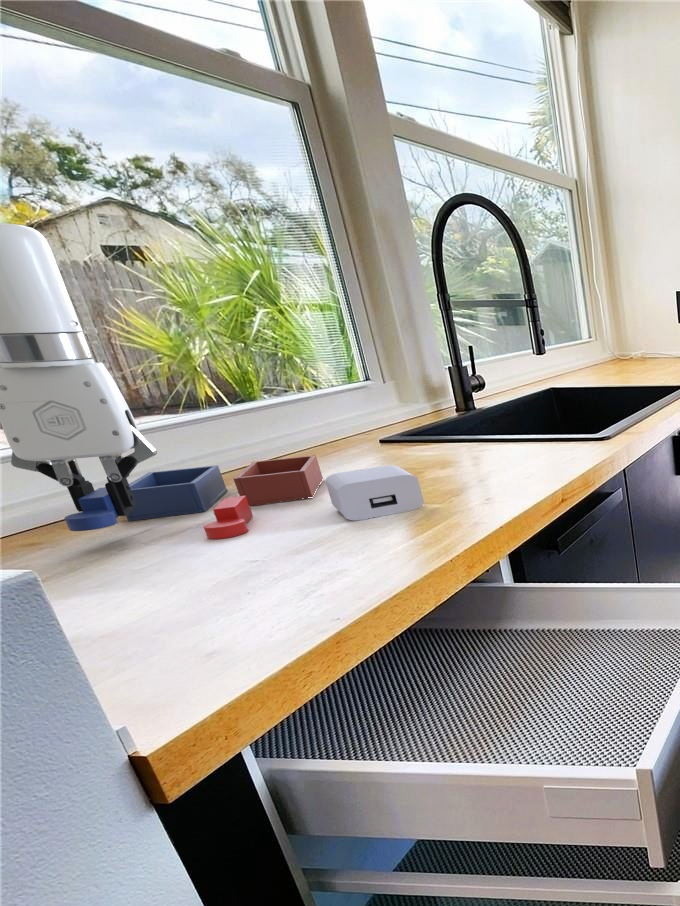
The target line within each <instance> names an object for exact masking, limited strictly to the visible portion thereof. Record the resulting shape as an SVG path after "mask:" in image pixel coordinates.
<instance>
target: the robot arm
mask: <svg viewBox="0 0 680 906" xmlns="http://www.w3.org/2000/svg"><path fill="white" fill-rule="evenodd" d="M83 331H84V330H83V328H82V325H81V323H80V320H79V318H78V315H77V313H76V310H75V308H74V304H73V303H72V300H71V297H70V295H69V293H68V290H67V286H66V285H65V282H64V279H63V277H62V274H61V272H60V269H59V266H58V264H57V262H56V259H55V256H54V254H53V251H52V249H51V247H50V245H49V242H48V240H47V239H46V238H45V237H44V235H43V234H42V233H40V231H38V230H37V229H35V228H33V227H29V226H27V225H23V224H16V223H7V222H0V424H1V428H2V430H3V432H4V436H5V438H6V441H7V443H8V445H9V447H10V449H11V458H10V464H11V466H13V467H14V468H17V469H20V470H21V469H22V470H26V471H31V472H38V473H40V474H42V475H44V476H46V477H48V478H51V479H52V480H54V481H56V482H58V483H59V484H60V486H63V487H66V488H67V490H68V493H69V495H70V497H71V500H72V502H73V504H74V507H75V509H76V510H77V511H78V513H80V512H83V510H82V508H81V505H80V503H79V501H78V499H80V498H82V497H84V496H86V495H88V494H90V493H91V492H93V491H95V490H96V489H95V488H94V485H93V483H92V482H91V481H89V480H86V478H85V476H83V475H82V471H81V469H80V466H79V464H78V462H77V459H89V458H98V459H99V461H100V463H101V465H102V467H103V470H104V473H105V474H106V480H107V482H106V483H105V484H104V487H106V490H107V492H108V494H109V496H110V498H111V500H112V503H113V505H114V508H115V510H116V513H117V515H119V517H126V515H128V514H129V513H131V512H132V511H133V510H134V509H133V506H135V505H136V501H135V498H134V496H133V493H132V491H131V488H130V486H129V484H130V483H129V481H128V477H130V474H131V473H132V472H133V471H134V469H135V468H136V466H137V465H138V464H140V463H143V462H144V461H147V460H148V459H149V460H150V459H151V458H153V457H154V456H156V455H157V454H158V451H157V449H156V448H155V447H154V446H153V445H152V443H150V442H149V441H148V439H146V438H145V437H144V436H143V434H141V433H140V432H141V431H140V429H139V426H138V424H137V422H136V420H135V418H134V416H133V413H132V411H131V409H130V406H129V405H128V403H127V401H126V400H125V399H126V398H124V395H123V394H122V392H121V390H120V389H119V387H118V385H117V383H116V381H115V380H114V378H113V376H112V375H111V373H110V371H108V369H107V367H106V366H105V365H104V363H103V362H96V361H95V359H94V356H93V354H92V352H91V348H90V346H89V343H88V341H87V339H86V336H85V333H84V332H83ZM131 449H134V451H133V452H131V453H130V454H127V455H126V456H124V457H123V454H125V453H127V452H128V451H130V450H131Z"/></svg>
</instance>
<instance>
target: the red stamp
mask: <svg viewBox="0 0 680 906" xmlns="http://www.w3.org/2000/svg"><path fill="white" fill-rule="evenodd" d="M212 511H213V514H214V516H215V519H216V521H211V522H208V523H207V524H204V525H203V530H204V533H205V535H206V537H207V538H208V539H211V540H220V539H228V538H234V537H238V536H241V535H243V534H246V533H247V532H248V531H249V528H248V525H247V524H248V523H249V521H250V520H252V518H253V516H254V515H253V512H252V510H251V506H249V504H248V501H247V499H246V496H230V497H224V498H223V499H222V501H220V502H219V503H218V504H217V505H216V506H215V507H214V508H213V509H212ZM251 517H252V518H251Z"/></svg>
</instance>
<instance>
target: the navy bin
mask: <svg viewBox="0 0 680 906" xmlns="http://www.w3.org/2000/svg"><path fill="white" fill-rule="evenodd" d="M129 486H130V488H131V491H132V493H133V496H134V498H135V501H136V505H135V506H133V509H134V510H133V511H132V512H131V513H129V514H128V515H126V516H125V517H126V519H127V522H134V521H143V520H151V519H157V518H158V519H159V518H165V517H175V516H181V515H190V514H191V515H192V514H198V513H205V512H207V511H208V510H210V508H211V507H212V506H213V505H214V504H215V503H216V502H217V501H218V500H220V499H221V498H222V497H223V496H224V495H225V494H226V493H227V492H228V489H227V486H226V483H225V480H224V478H223V475H222V473H221V470H220V467H219V465H218V464H217V465H208V466H199V467H198V466H197V467H189V468H188V467H187V468H179V469H169V470H161V471H160V470H159V471H152V472H151V471H150V472H147V473H145V474H143V475H142V476H140V477H139V478H137V479H135V480H134V481H132V482H130V483H129ZM221 496H222V497H221ZM220 497H221V498H220ZM219 498H220V499H219Z"/></svg>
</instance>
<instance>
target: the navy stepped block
mask: <svg viewBox="0 0 680 906" xmlns="http://www.w3.org/2000/svg"><path fill="white" fill-rule="evenodd" d="M94 490H95V491H93V492H91V493H90V494H88V495H86V496H84V497H82V498H80V499H78V501H79V503H80V505H81V508H82V510H83V512H76V513H72V514H69V515H66V516H65V517H64V521H65V523H66V525H67V528H68V530H69V531H70V532H87V531H94V530H100V529H106V528H109V527H112V526H115V525H117V524H118V523H119V521H118V519H117V518H119V517H120V516H119V515H117V513H116V510H115V508H114V505H113V503H112V500H111V498H110V496H109V494H108V492H107V490H106V487H105V486H104V487H98V488H97V489H94Z"/></svg>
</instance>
